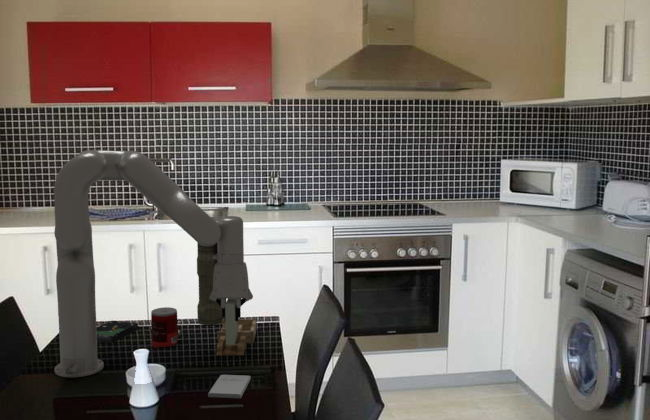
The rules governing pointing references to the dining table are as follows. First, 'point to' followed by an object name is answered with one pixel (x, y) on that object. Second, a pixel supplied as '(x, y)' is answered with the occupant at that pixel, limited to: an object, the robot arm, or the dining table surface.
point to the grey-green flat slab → (231, 322)
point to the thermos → (207, 286)
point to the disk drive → (114, 331)
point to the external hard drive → (230, 386)
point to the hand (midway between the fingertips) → (231, 319)
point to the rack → (242, 330)
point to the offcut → (224, 327)
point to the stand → (231, 347)
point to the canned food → (164, 327)
